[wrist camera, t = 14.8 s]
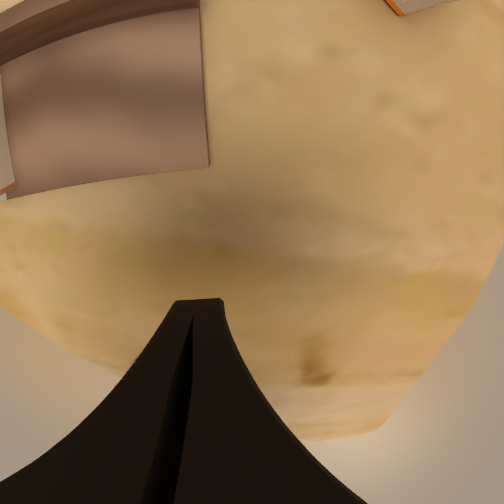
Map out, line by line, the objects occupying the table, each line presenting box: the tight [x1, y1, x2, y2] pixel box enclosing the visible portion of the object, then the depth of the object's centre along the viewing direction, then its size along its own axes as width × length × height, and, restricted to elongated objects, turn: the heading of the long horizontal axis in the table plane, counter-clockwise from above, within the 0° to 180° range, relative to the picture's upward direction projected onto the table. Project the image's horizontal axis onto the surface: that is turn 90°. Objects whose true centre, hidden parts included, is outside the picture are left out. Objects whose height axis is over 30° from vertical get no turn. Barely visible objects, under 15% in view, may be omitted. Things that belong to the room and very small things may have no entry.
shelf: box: [0, 0, 210, 201], centre depth 11 cm, size 10×20×6 cm, turn 93°
